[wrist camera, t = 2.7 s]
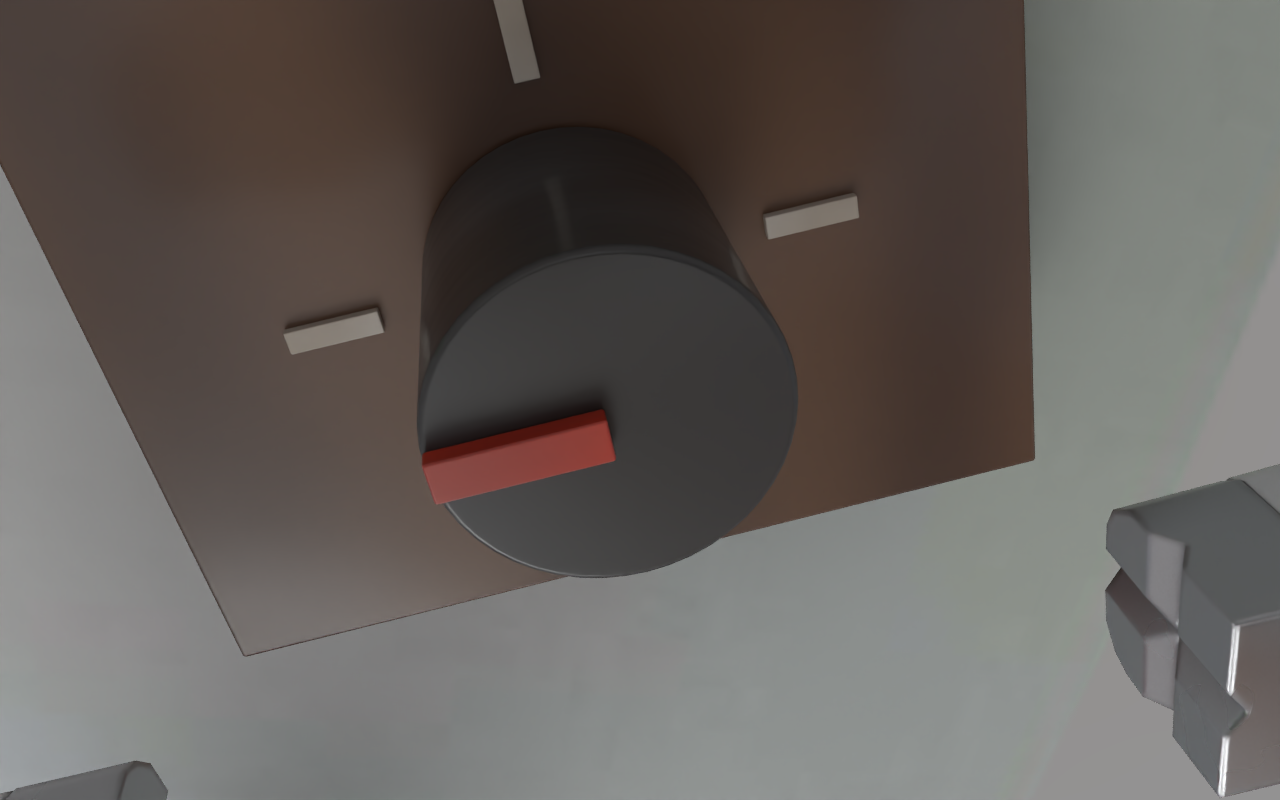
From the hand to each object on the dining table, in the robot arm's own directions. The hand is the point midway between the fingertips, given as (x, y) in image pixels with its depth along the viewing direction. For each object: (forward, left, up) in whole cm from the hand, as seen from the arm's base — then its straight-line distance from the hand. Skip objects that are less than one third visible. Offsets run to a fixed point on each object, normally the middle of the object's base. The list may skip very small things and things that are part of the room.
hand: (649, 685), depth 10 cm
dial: (0, 0, -9) cm, 9 cm away
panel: (0, 0, -12) cm, 12 cm away
